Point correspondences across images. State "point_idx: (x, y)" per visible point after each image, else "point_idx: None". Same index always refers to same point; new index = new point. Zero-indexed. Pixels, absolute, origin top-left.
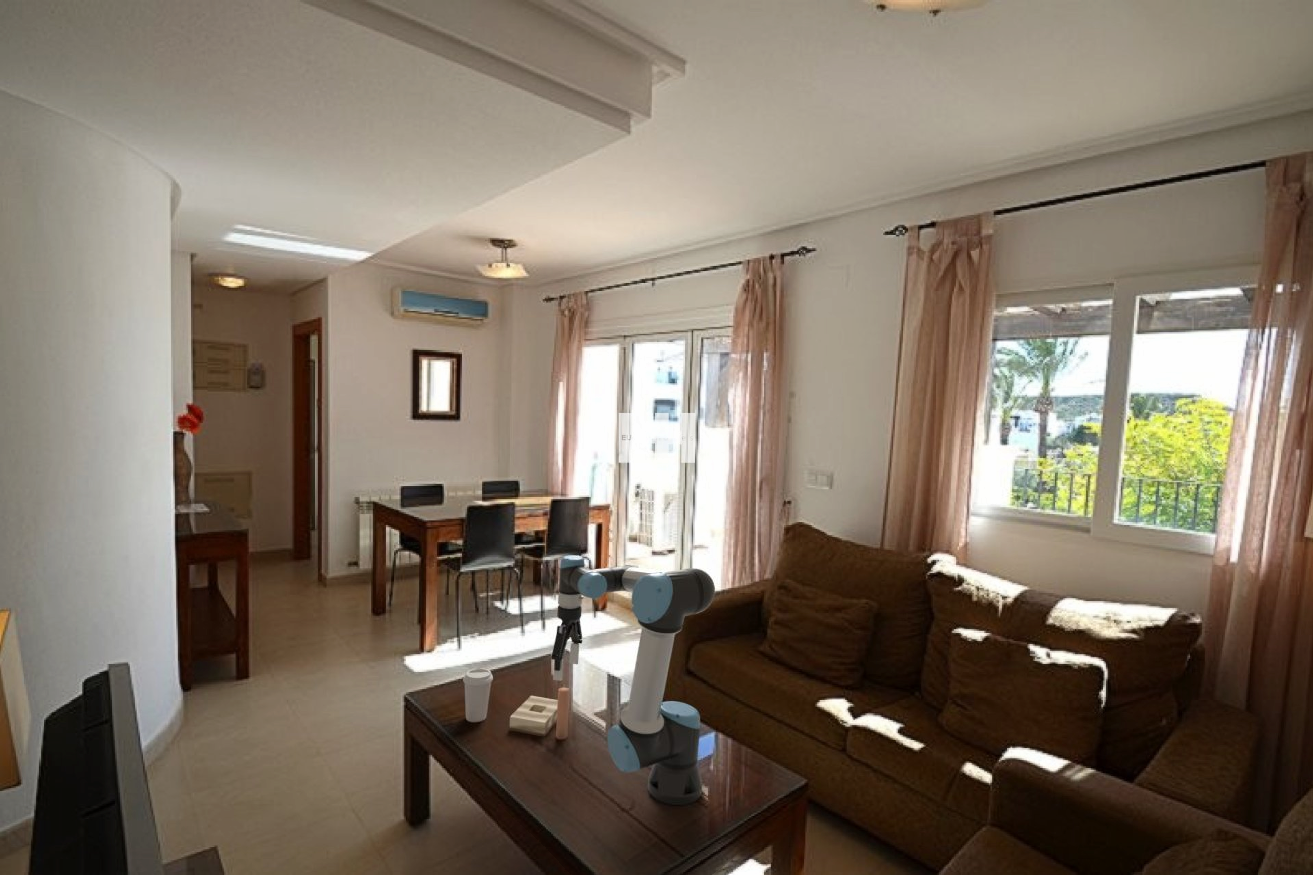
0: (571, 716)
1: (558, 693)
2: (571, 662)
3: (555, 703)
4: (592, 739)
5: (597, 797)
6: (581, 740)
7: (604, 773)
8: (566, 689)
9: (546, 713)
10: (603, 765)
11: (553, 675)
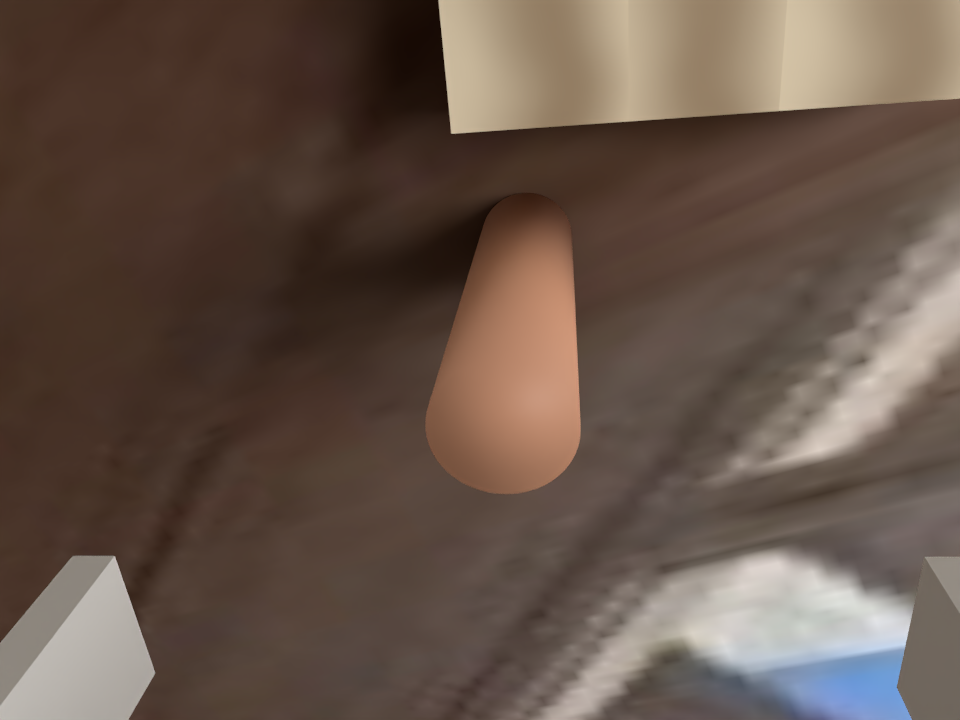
0: (885, 172)
1: (450, 362)
2: (929, 604)
3: (895, 32)
4: None
5: None
6: None
7: (260, 604)
8: (530, 449)
9: (634, 53)
10: (325, 581)
11: (26, 612)
